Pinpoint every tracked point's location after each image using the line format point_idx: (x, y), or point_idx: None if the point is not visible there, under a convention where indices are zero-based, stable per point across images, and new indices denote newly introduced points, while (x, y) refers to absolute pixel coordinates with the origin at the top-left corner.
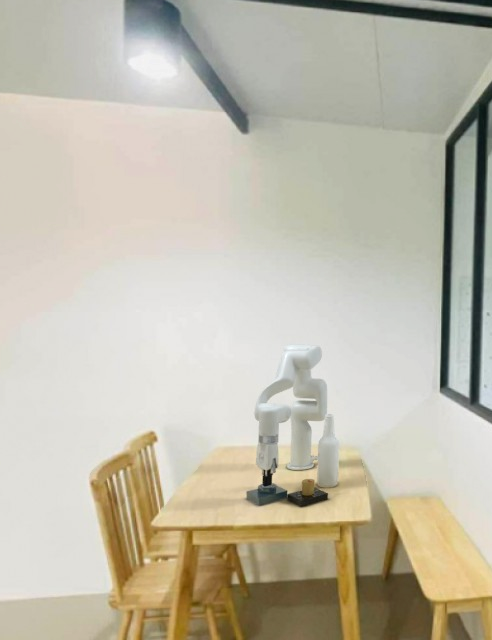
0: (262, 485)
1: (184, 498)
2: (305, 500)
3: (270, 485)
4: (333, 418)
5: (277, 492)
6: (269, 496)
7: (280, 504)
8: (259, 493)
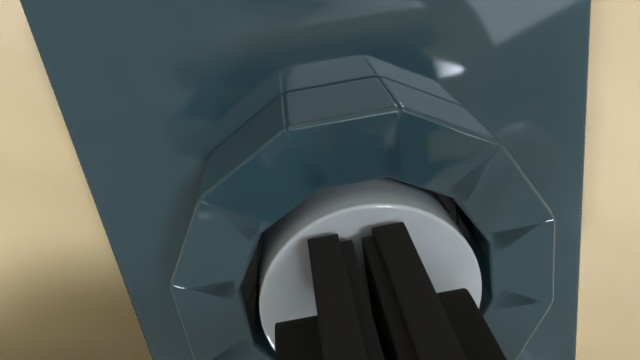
0: (418, 221)
1: None
2: None
3: None
4: None
5: (182, 352)
6: (105, 205)
7: (10, 269)
8: (300, 87)
